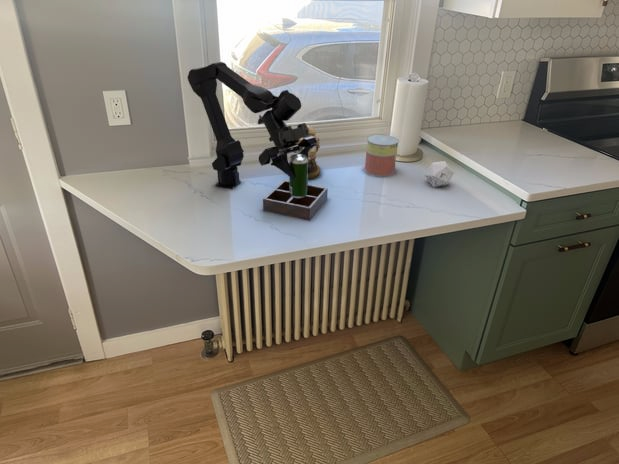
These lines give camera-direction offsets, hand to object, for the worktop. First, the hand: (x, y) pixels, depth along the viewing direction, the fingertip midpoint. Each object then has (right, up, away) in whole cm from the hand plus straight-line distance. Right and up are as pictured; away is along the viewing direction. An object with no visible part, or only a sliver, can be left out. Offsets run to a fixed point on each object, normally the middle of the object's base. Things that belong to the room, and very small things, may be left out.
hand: (301, 176), depth 135 cm
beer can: (-1, -5, +4) cm, 7 cm away
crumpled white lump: (+48, 0, +29) cm, 56 cm away
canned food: (+29, +7, +39) cm, 49 cm away
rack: (-2, -8, +13) cm, 15 cm away
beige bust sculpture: (0, +6, +37) cm, 38 cm away
